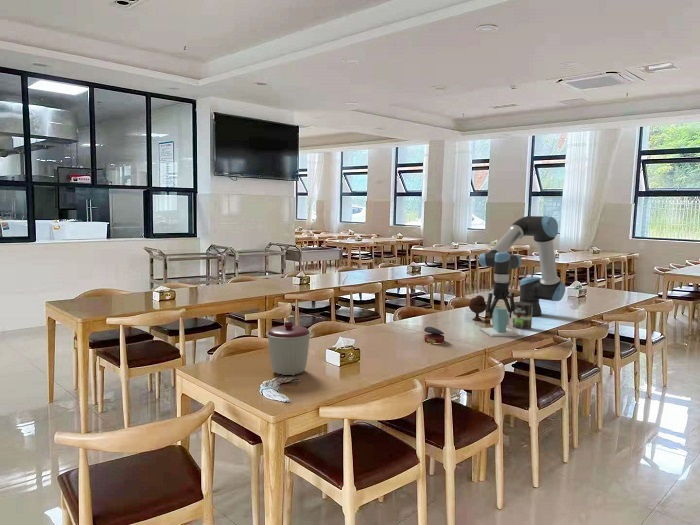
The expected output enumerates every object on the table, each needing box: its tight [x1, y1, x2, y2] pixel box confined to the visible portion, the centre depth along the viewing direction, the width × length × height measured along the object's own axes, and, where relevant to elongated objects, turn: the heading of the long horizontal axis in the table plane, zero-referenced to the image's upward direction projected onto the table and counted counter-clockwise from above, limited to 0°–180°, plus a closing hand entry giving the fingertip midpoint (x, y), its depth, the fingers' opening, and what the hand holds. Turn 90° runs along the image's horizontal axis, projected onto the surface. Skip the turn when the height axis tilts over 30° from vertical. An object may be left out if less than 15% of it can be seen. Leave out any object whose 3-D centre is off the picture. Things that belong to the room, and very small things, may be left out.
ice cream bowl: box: [467, 294, 487, 322], centre depth 308 cm, size 11×11×15 cm
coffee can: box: [512, 301, 533, 331], centre depth 288 cm, size 10×10×14 cm
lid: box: [481, 306, 519, 338], centre depth 274 cm, size 14×14×13 cm
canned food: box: [423, 326, 445, 344], centre depth 259 cm, size 11×10×10 cm
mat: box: [479, 329, 520, 338], centre depth 275 cm, size 16×16×1 cm
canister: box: [265, 320, 312, 376], centre depth 209 cm, size 18×18×21 cm
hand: (499, 324), depth 275 cm, fingers open, 8 cm apart
